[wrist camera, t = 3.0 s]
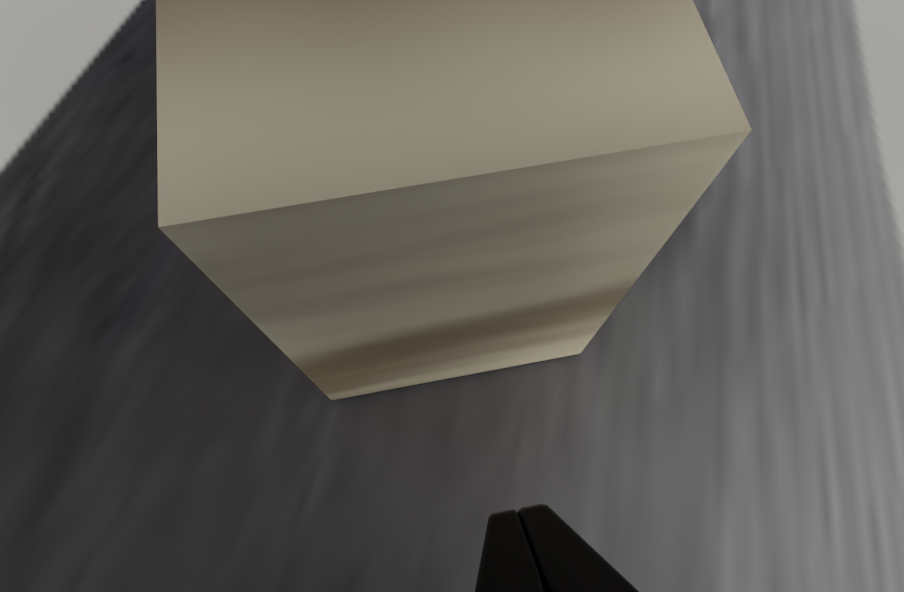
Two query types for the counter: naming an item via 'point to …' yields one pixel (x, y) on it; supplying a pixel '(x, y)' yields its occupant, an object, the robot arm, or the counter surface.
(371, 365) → the birch block
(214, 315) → the counter surface
